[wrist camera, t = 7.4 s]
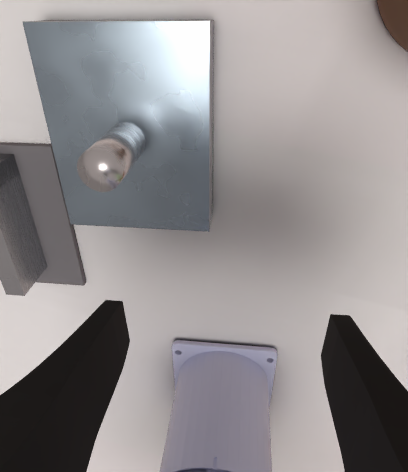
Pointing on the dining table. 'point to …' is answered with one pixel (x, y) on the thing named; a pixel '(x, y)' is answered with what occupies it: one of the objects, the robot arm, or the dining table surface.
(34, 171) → the mat
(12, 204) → the gray tabletop stand
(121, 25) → the metal base with post
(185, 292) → the dining table surface
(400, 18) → the mug
